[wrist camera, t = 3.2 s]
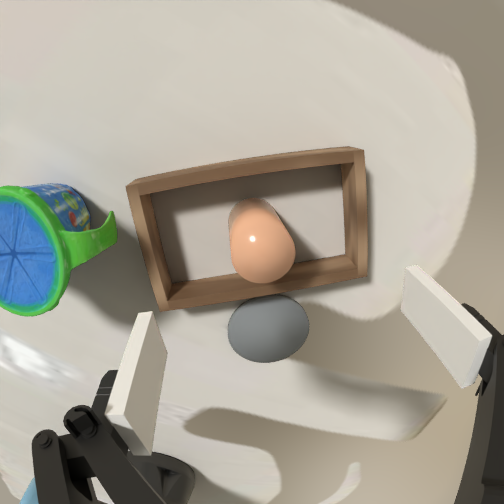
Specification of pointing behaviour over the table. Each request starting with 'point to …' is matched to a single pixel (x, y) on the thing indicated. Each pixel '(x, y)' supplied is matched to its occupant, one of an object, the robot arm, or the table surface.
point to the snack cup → (44, 244)
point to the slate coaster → (268, 328)
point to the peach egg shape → (259, 242)
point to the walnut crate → (235, 284)
